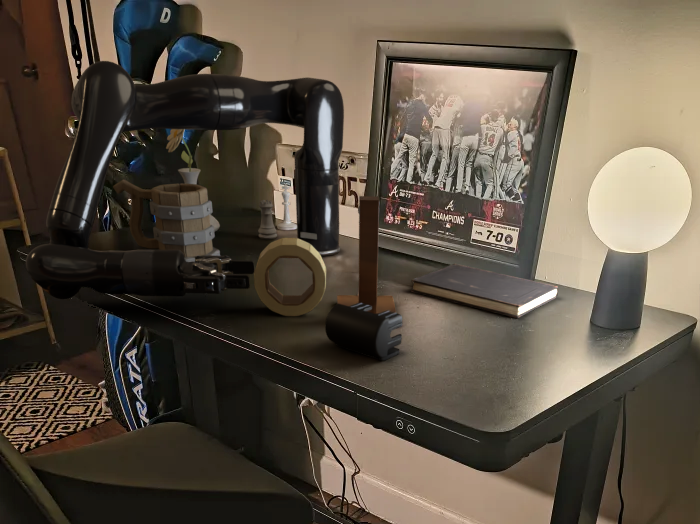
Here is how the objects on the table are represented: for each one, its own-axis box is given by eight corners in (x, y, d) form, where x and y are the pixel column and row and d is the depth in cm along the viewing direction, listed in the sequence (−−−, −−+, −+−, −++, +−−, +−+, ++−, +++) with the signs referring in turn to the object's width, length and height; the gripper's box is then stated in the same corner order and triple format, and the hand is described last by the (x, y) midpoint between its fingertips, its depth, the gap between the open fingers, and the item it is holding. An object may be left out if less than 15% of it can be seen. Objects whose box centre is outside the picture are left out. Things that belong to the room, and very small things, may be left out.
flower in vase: (174, 227, 180) (160, 110, 166) (222, 227, 181) (212, 111, 167) (167, 241, 169) (151, 117, 155) (218, 241, 170) (207, 118, 156)
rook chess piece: (280, 236, 176) (279, 200, 171) (272, 240, 172) (270, 203, 168) (263, 234, 177) (261, 198, 172) (254, 238, 173) (252, 202, 169)
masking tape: (258, 307, 132) (254, 237, 126) (326, 307, 133) (325, 238, 126) (256, 315, 128) (251, 244, 122) (326, 316, 129) (325, 245, 123)
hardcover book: (517, 318, 131) (519, 305, 130) (410, 291, 142) (411, 279, 141) (557, 297, 142) (559, 285, 141) (455, 274, 153) (456, 262, 152)
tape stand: (337, 299, 137) (336, 182, 126) (391, 300, 138) (395, 184, 127) (337, 325, 125) (337, 199, 114) (396, 326, 126) (401, 200, 115)
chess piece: (293, 230, 181) (292, 186, 175) (274, 229, 181) (272, 185, 176) (299, 226, 185) (298, 183, 179) (280, 224, 185) (278, 181, 180)
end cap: (324, 350, 116) (324, 307, 112) (354, 338, 121) (354, 297, 117) (374, 367, 111) (375, 323, 107) (403, 354, 116) (405, 311, 112)
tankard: (226, 253, 161) (220, 179, 153) (204, 269, 151) (196, 190, 143) (139, 247, 164) (128, 173, 156) (112, 262, 153) (99, 183, 145)
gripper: (142, 262, 118) (246, 263, 119) (160, 239, 130) (254, 240, 131) (149, 308, 122) (249, 309, 123) (166, 282, 134) (257, 283, 135)
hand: (251, 274), depth 127 cm, fingers open, 8 cm apart
